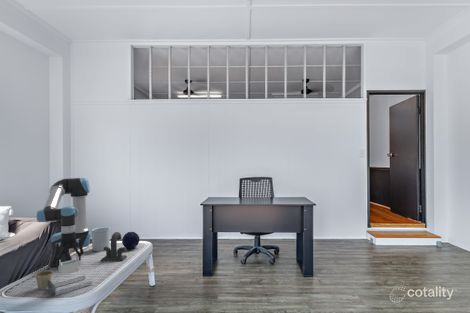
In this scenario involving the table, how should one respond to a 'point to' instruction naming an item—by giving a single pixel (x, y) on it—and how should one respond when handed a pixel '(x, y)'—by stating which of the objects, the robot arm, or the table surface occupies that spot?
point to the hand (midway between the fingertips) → (68, 268)
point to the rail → (52, 286)
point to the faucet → (114, 250)
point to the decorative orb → (130, 240)
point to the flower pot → (43, 279)
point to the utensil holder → (100, 238)
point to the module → (69, 267)
